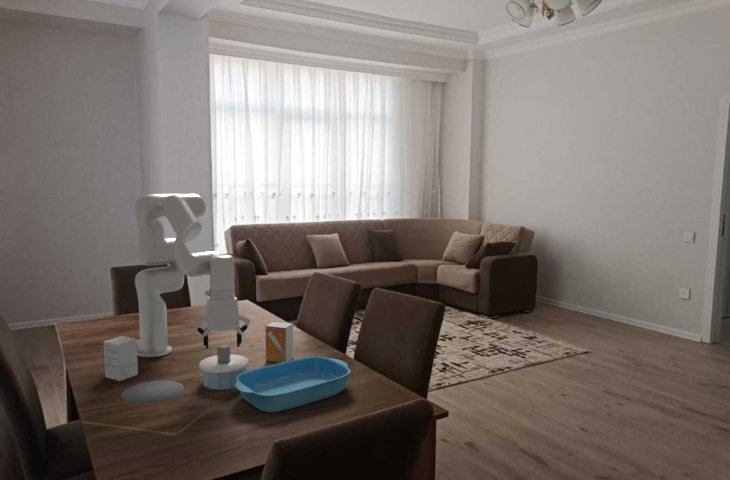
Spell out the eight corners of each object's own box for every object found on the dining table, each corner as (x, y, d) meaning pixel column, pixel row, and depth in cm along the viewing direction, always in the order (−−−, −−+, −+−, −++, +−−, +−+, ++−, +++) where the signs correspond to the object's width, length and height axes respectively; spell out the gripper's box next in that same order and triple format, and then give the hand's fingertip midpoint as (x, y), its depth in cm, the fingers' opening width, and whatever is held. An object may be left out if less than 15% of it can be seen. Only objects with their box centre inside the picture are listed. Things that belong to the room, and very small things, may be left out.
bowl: (195, 388, 175) (194, 369, 174) (216, 374, 187) (215, 356, 186) (233, 392, 171) (233, 373, 171) (252, 377, 184) (251, 360, 183)
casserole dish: (256, 424, 151) (256, 398, 150) (222, 398, 168) (221, 375, 167) (364, 392, 173) (364, 370, 173) (323, 372, 191) (323, 351, 190)
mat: (107, 401, 164) (107, 399, 164) (145, 379, 182) (145, 378, 182) (161, 407, 160) (161, 406, 160) (195, 385, 177) (195, 383, 177)
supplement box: (124, 371, 189) (122, 335, 187) (138, 375, 185) (137, 338, 184) (104, 378, 183) (102, 340, 181) (119, 382, 179) (117, 344, 177)
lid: (190, 370, 173) (189, 351, 172) (214, 355, 188) (214, 338, 187) (234, 375, 170) (234, 356, 169) (255, 359, 184) (255, 341, 183)
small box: (265, 361, 201) (265, 325, 199) (273, 355, 207) (273, 321, 205) (286, 363, 198) (285, 327, 197) (293, 358, 204) (293, 323, 203)
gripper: (193, 297, 170) (194, 352, 172) (251, 295, 175) (251, 348, 177) (193, 292, 177) (194, 344, 179) (249, 290, 182) (249, 341, 184)
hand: (222, 346), depth 178 cm, fingers open, 9 cm apart
